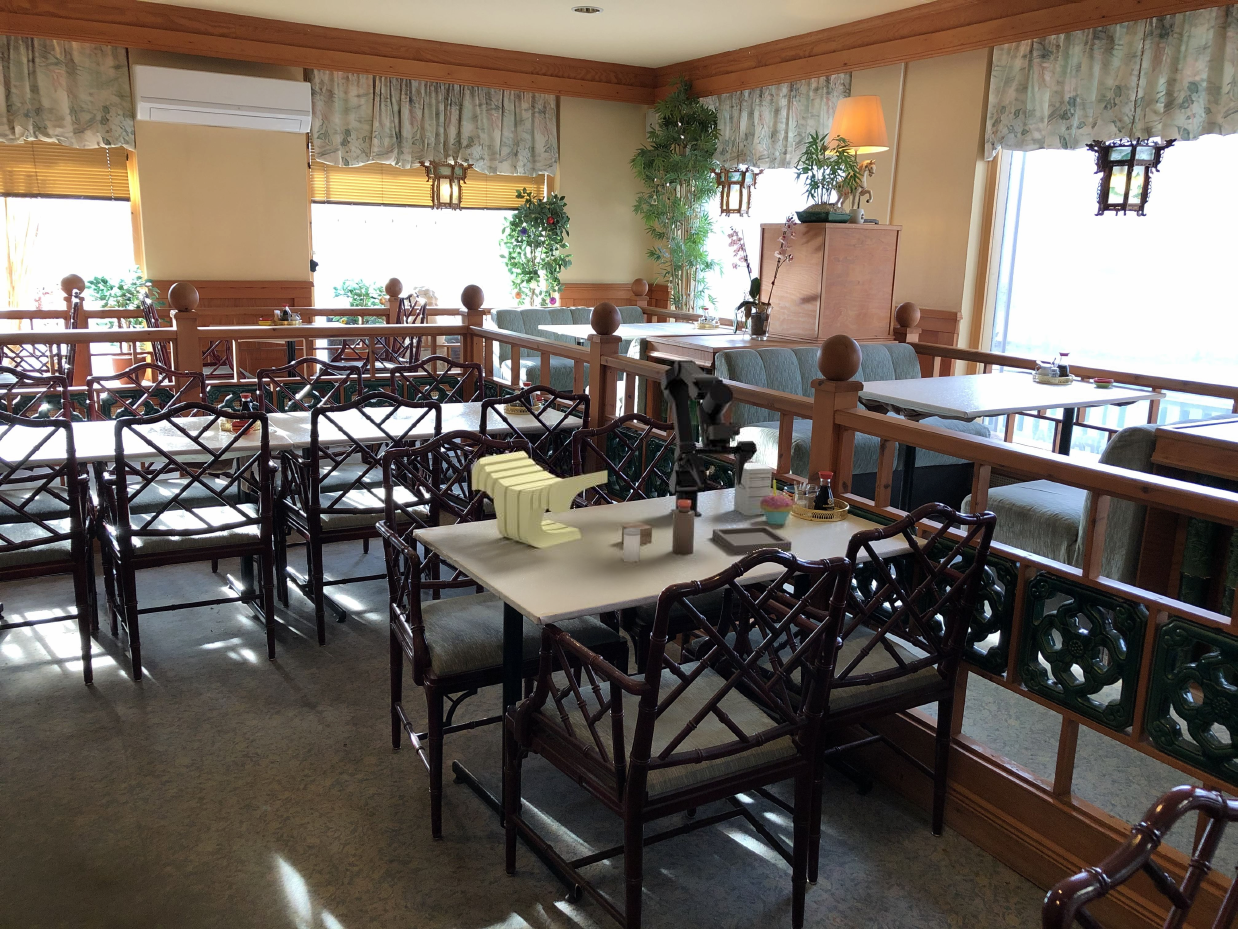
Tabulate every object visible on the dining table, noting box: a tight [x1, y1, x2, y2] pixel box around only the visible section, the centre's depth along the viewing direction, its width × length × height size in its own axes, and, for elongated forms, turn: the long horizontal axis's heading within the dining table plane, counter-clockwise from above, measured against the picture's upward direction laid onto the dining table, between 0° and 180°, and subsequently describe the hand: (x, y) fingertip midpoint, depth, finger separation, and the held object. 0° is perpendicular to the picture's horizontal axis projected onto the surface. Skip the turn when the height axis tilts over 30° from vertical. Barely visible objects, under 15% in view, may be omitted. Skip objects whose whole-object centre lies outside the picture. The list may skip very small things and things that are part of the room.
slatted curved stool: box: [471, 450, 608, 549], centre depth 228 cm, size 30×16×18 cm, turn 45°
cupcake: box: [760, 477, 794, 525], centre depth 247 cm, size 9×8×12 cm
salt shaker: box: [622, 528, 641, 563], centre depth 214 cm, size 4×4×7 cm
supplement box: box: [733, 462, 773, 516], centre depth 256 cm, size 7×7×13 cm
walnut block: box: [621, 521, 653, 546], centre depth 228 cm, size 5×5×4 cm
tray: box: [712, 525, 792, 555], centre depth 228 cm, size 14×14×2 cm
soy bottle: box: [671, 499, 696, 556], centre depth 219 cm, size 5×5×12 cm
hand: (720, 484), depth 224 cm, fingers open, 9 cm apart
